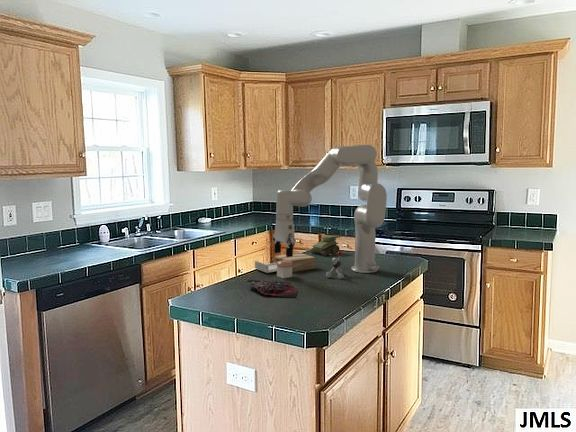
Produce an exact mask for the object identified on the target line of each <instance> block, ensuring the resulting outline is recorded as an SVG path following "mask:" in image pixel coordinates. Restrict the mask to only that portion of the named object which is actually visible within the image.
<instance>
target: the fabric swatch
mask: <svg viewBox="0 0 576 432" xmlns="http://www.w3.org/2000/svg"><path fill="white" fill-rule="evenodd" d="M246 283H248V284H249V285H251V286H252V287H253V288H254V289H255V290H256V289H257V292H258V293H259V292H260V294H263V295H269V296H273V297H281V298H282V297H284V298H296V297H297V294H298V289H296V288H295V286H293V285H292V284H291V283H290V282H288V281H281V280H279V281H266V280H259V279H258V280H257V279H248V280H246Z"/></svg>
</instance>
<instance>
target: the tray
mask: <svg viewBox="0 0 576 432" xmlns="http://www.w3.org/2000/svg"><path fill="white" fill-rule="evenodd" d="M254 268H255V270H259V271H261V272H264V273H267V274H269V273H274V272H277V263H267V264H266V263H264V262H261V261H258V260H255V261H254Z"/></svg>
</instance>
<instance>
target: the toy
mask: <svg viewBox="0 0 576 432" xmlns="http://www.w3.org/2000/svg"><path fill="white" fill-rule="evenodd" d="M321 238H322V240H321V241H318V242H317V243H316V244H314V245H312V248H311V250H310V251H311V254H312V255H318V254H319V255H321V256H322V257H326V256H325V255H329V254H335V253H338V252H339V251H340V246H339V242H337V241H336V240H337V239H338V238H342V235H339V234H338V235H330V234H329V235H323V236H322V237H321ZM317 253H318V254H317ZM335 255H336V254H335Z"/></svg>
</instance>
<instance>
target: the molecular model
mask: <svg viewBox="0 0 576 432" xmlns="http://www.w3.org/2000/svg"><path fill="white" fill-rule="evenodd" d="M336 255H337V256H338V258H337V257H333V258H332V259H331V261H332V263H333V264H332V266H333V267H332V268H331V269H330V271H327V272H326V273H325V277H326V278H327V279H329V278H331V277H332V273H333V271H334V270H335V269H336V270H335V271H336V274H337V278H338V279H339V280H341V279H343V278H344V274H343V273H342V272H343V269H341V266H342V262H341V261H340V260H341V258H342V257H343V255H344V254H343V252H342V251H341V250H339V252H338V253H337V254H336Z"/></svg>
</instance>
